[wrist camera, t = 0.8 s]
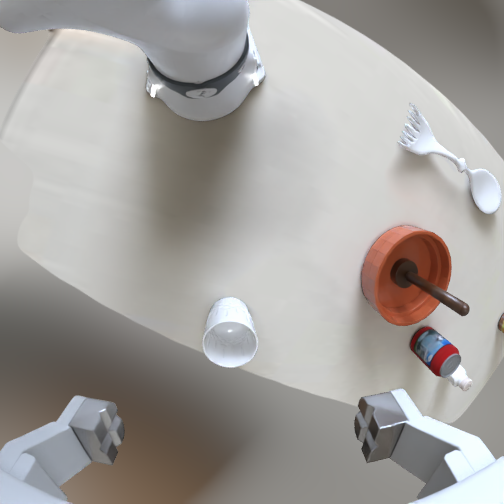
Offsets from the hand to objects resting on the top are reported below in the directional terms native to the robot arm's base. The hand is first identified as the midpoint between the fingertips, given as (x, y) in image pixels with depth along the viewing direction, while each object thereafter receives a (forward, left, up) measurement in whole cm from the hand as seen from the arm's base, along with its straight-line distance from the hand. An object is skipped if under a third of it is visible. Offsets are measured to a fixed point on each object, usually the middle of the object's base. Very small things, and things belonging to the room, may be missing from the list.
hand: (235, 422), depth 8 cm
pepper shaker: (+40, +50, -39) cm, 75 cm away
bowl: (+11, +30, -39) cm, 51 cm away
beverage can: (+28, +38, -39) cm, 62 cm away
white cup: (+15, -2, -39) cm, 42 cm away
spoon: (-9, +45, -39) cm, 60 cm away
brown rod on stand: (+11, +30, -38) cm, 50 cm away
